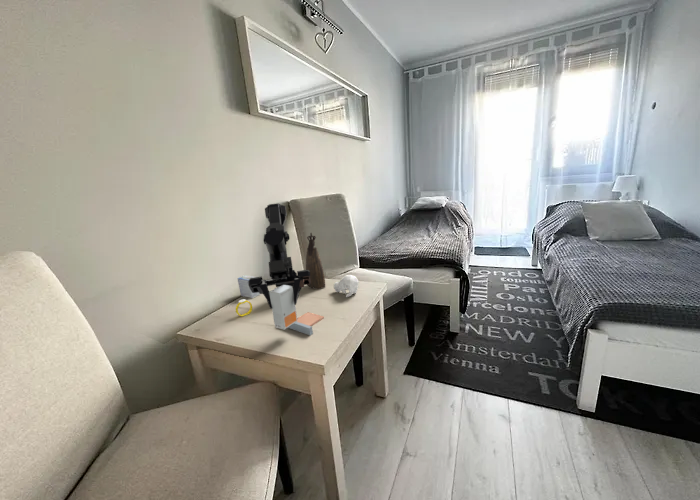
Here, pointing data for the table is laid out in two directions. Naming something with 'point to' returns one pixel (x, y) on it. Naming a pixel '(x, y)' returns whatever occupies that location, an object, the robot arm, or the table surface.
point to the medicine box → (246, 287)
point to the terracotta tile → (309, 319)
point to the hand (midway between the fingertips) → (283, 306)
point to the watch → (242, 303)
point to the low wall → (301, 328)
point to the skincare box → (283, 306)
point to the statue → (314, 265)
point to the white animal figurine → (347, 285)
